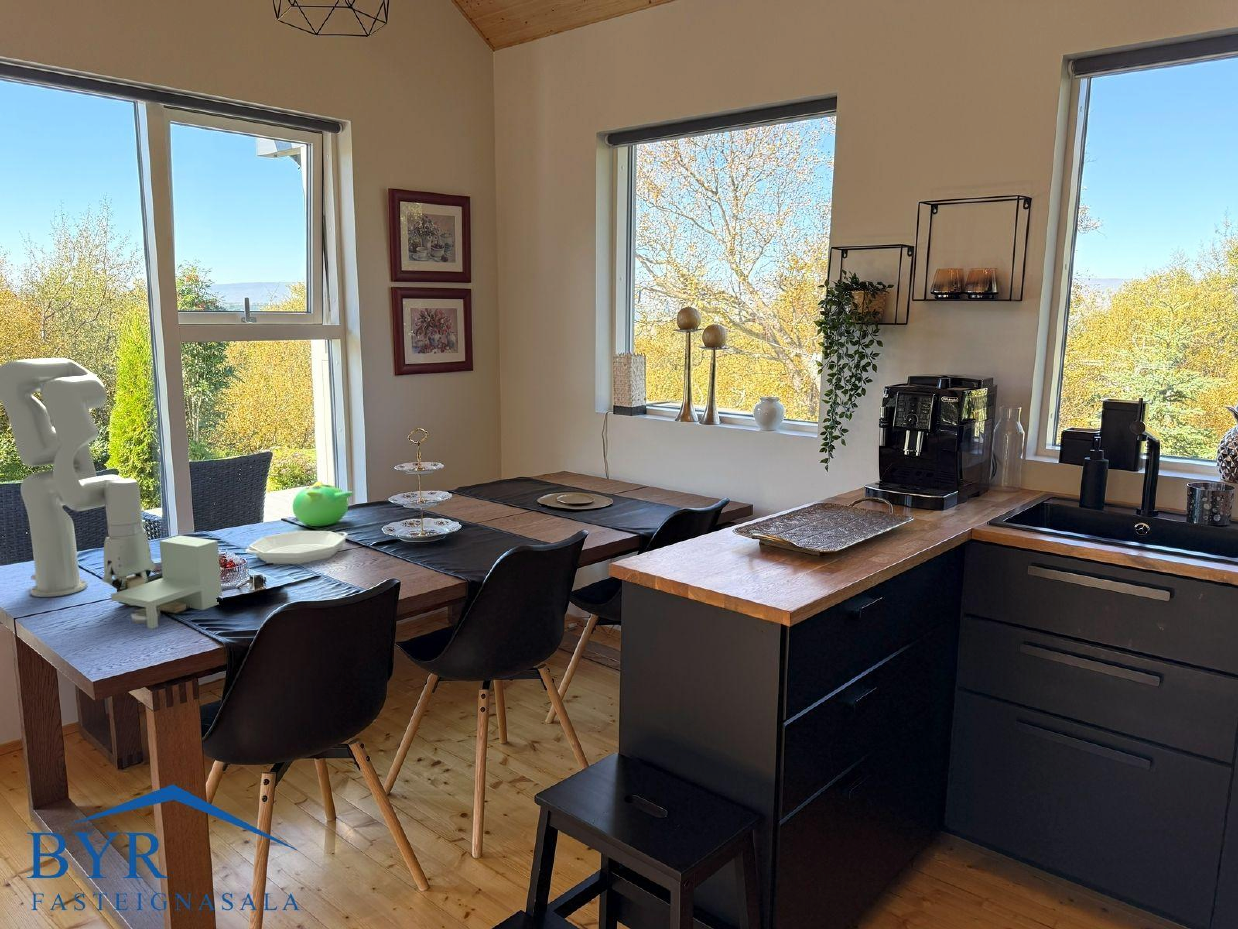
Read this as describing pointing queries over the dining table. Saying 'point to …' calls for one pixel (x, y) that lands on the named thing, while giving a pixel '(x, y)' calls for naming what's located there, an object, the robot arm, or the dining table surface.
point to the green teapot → (321, 504)
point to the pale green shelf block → (180, 578)
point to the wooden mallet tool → (168, 606)
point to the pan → (297, 547)
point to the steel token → (142, 616)
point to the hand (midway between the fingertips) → (132, 600)
